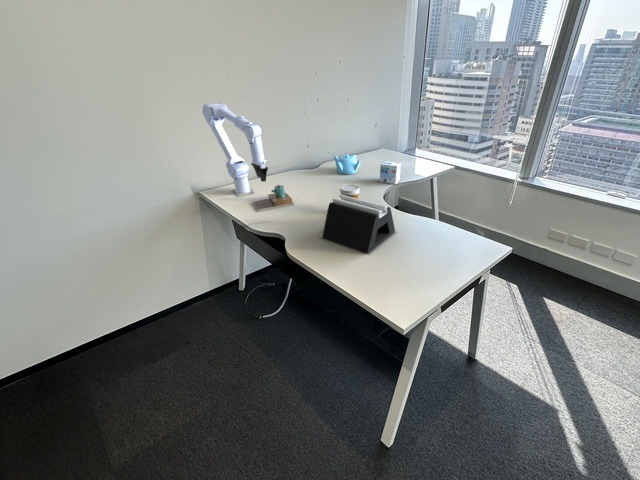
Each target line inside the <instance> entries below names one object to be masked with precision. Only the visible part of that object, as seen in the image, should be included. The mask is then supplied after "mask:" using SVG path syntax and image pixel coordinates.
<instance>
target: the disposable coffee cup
mask: <svg viewBox="0 0 640 480" xmlns="http://www.w3.org/2000/svg"><path fill="white" fill-rule="evenodd" d="M360 191H361V190H360V187H359V185H355V184H343V185H342V186H340V189H339V192H340V195H344V196H348V197H352V198H356V199H359V195H360Z"/></svg>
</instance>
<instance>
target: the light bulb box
mask: <svg viewBox="0 0 640 480" xmlns="http://www.w3.org/2000/svg"><path fill="white" fill-rule="evenodd" d="M400 176H401V162H394V161H386V160H384V161H383V162H381V163H380V167H379V182H380V183H386V184H392V185H397V184H398V183H399V182H400Z"/></svg>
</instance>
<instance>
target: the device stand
mask: <svg viewBox="0 0 640 480" xmlns="http://www.w3.org/2000/svg"><path fill="white" fill-rule="evenodd" d="M338 196H339V198H336V197H333V198H332V202H329V204H328V207H327V212H326V217H325V222H324V226H323V231H322V239H326V240H328V241H330V242H334V243H337V244H340V245H342V246H346V247H349V248H352V249H355V250H357V251H361V252H364V253H365V254H370V253H371V252H372V251H373V250H374V249H376V248H377V247H378V246H380V245H381V244H382V243H383V242H384V241H385V240H387V239H388V238H389V237H391V236H393V234H394V233H395V231H396V228H395V223H394V217H393V213H392V209H391V207H390V206H386V205H382V204H378V203H375V202H371V201H367V200H363V199H359V198H358V199H356V198H352V197H348V196H344V195H341V194H339V195H338Z"/></svg>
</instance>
